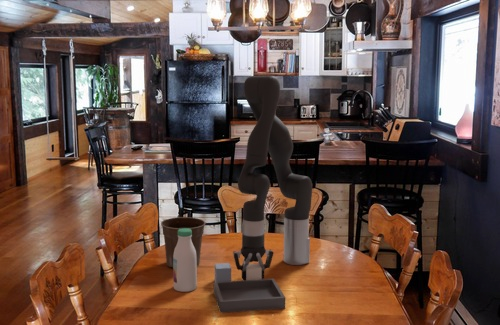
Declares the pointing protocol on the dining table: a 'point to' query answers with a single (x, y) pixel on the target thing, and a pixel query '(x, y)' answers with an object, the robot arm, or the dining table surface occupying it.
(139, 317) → the dining table surface
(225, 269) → the slate blue block
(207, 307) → the dining table surface
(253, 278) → the cream block
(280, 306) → the dark grey tray
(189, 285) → the milk bottle
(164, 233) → the plant pot
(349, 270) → the dining table surface
